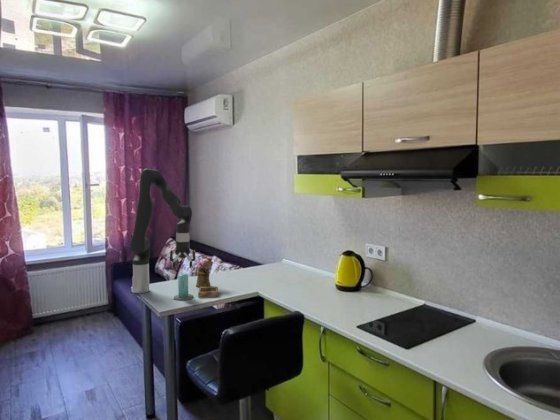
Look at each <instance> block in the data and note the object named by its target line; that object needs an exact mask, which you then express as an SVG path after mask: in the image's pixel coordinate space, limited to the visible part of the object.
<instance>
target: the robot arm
mask: <svg viewBox="0 0 560 420" xmlns="http://www.w3.org/2000/svg"><path fill="white" fill-rule="evenodd" d="M153 185H154V186H155V187H157V188H158V189H159V190H160V192H161V196H162V198H163V200H164V201H165V203H166V204H167V205H168V206H169V207H170V209H171V212H172V214H173V215H174V217H175V218H176V219H181V220H180V221H179V222H177V223H176V234H175V245H176V246H175V250H173V249H171V250H170V251H169V255H170V256H169V261H170V262H172V266H173V269H177V260H178V258H179V259H187V260H188V261H189V269H191V268H192V267H193V262H194V261H196V250H195V249H193V250H191V249H190V224H191V220H192V216H193V210H192V208H191V206H190V205H181V203H182V201H181V199H180V198H179V197H178V195H177V194H176V192H174V191H173V189H172V188H171V187H170V185H169V183H168V182H167V181H166V178H164V176H163V174H162V173H161V172H160V171H159V170H158V169H153V168H144V169H143V170H142V171H141V173H140V179H139V192H138V193H139V194H138V201H137V208H136V213H135V221H134V226H133V227H134V229H133V232H132V236H131V241H130V247H129V248H130V251H131V252H132V253H133V254H135V255H134V257H133V259H132V277H131V281H132V282H131V283H132V287H131V290H132V293H134V294H145V293H148V292H149V291H150V257H151V243H150V240H149V238H147V237H146V234H147V231H148V228H149V226H150V223H151V222H152V218H153V214H154V203H153V201H152V197H151V186H153ZM174 254H176V256H175V258H174V257H173V256H174ZM190 255H192V257H191V256H190Z"/></svg>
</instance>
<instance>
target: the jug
mask: <svg viewBox="0 0 560 420" xmlns="http://www.w3.org/2000/svg"><path fill="white" fill-rule="evenodd" d="M177 282H178V283H177V286H178V287H177V288H178V289H177V291H178V294H177V295H179V298H187V297H188V294H189V274H188V273H178V274H177Z"/></svg>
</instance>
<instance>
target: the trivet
mask: <svg viewBox="0 0 560 420" xmlns="http://www.w3.org/2000/svg"><path fill="white" fill-rule="evenodd" d="M192 299H194V295H193V294H190V293H188V297H187V298H179V295H178V294H176V295H174V296H173V300H175V301H181V302H182V301H189V300H190V301H191V300H192Z"/></svg>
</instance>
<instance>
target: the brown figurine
mask: <svg viewBox="0 0 560 420" xmlns="http://www.w3.org/2000/svg"><path fill="white" fill-rule="evenodd" d="M213 264H214V262H213V260H210V261H207V262H206V263H205V264H204V266H203V267H200V268H198V270H197V278H196V284H195V287H196V288H198V289H199V288H200V287H211V282H210V268H212V267H213Z"/></svg>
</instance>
